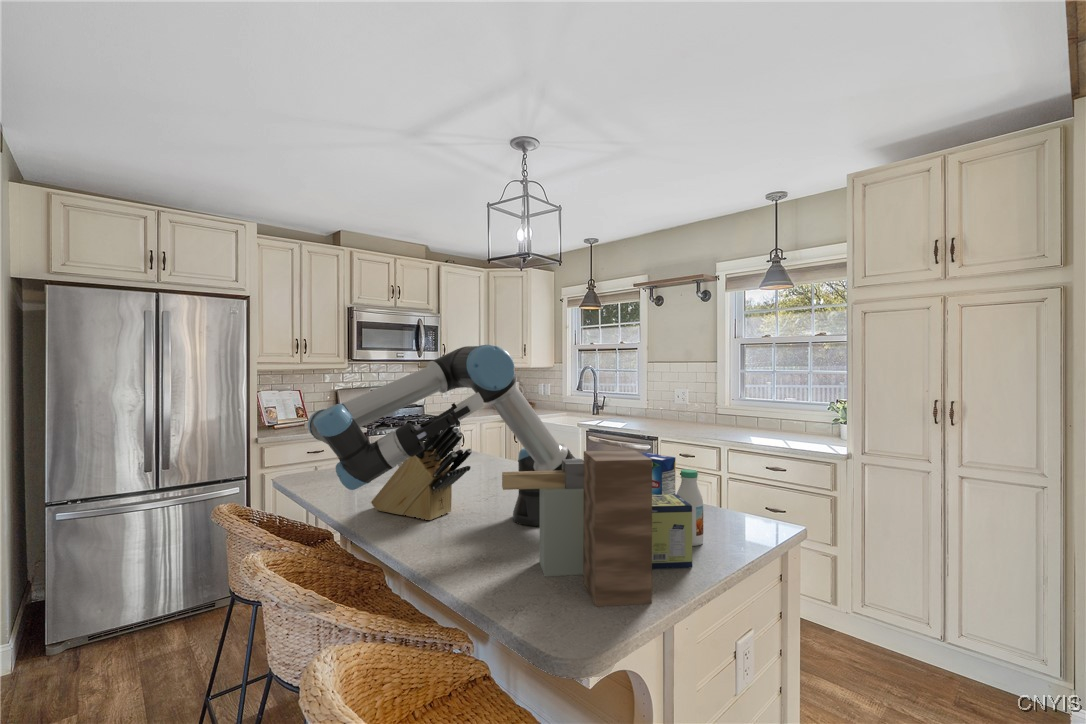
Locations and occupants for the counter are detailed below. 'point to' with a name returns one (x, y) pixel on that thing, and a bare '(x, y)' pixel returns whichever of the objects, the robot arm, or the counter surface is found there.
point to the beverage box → (662, 474)
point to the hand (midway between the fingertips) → (481, 398)
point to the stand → (617, 527)
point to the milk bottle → (693, 503)
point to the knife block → (425, 479)
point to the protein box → (671, 532)
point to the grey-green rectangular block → (561, 531)
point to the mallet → (547, 477)
